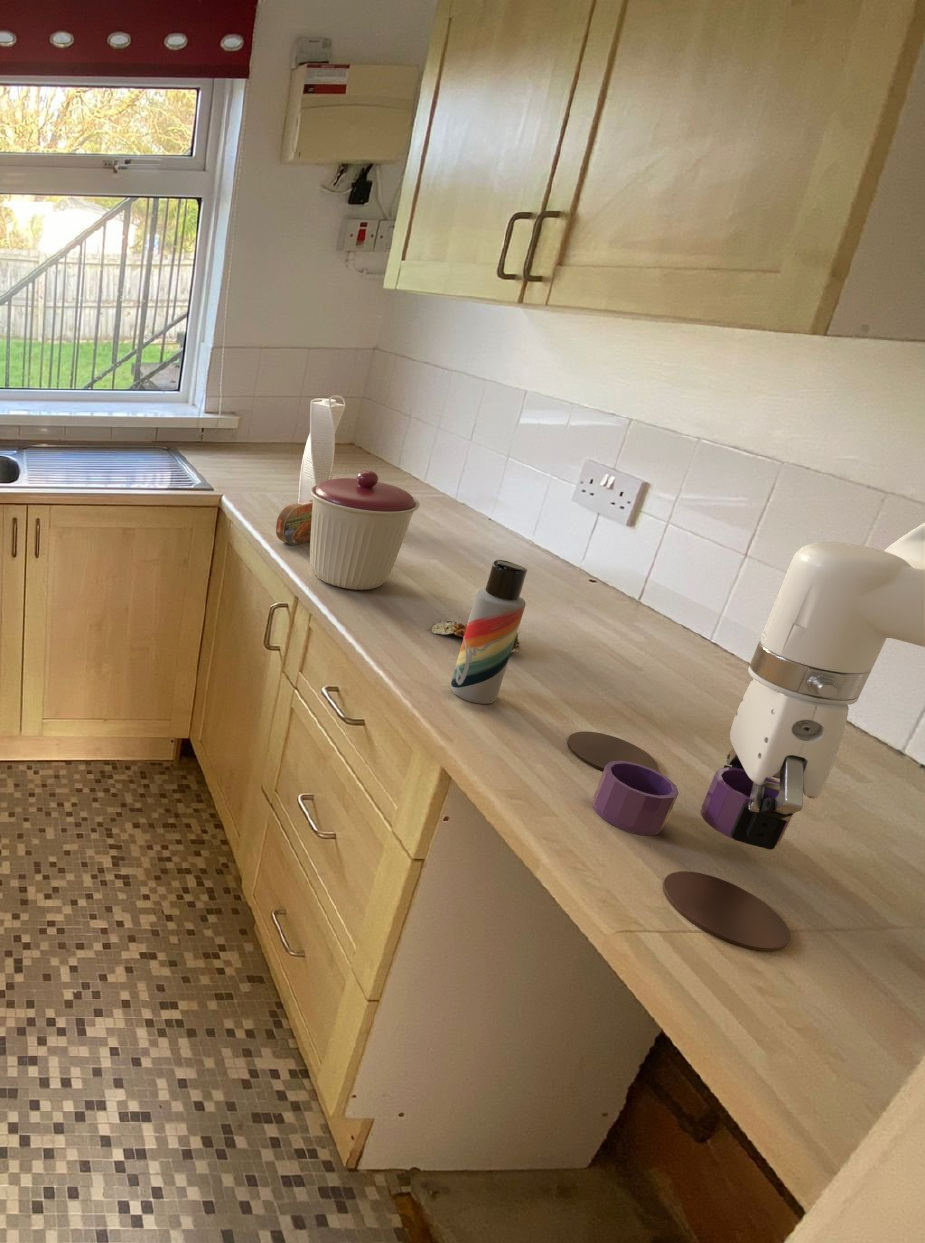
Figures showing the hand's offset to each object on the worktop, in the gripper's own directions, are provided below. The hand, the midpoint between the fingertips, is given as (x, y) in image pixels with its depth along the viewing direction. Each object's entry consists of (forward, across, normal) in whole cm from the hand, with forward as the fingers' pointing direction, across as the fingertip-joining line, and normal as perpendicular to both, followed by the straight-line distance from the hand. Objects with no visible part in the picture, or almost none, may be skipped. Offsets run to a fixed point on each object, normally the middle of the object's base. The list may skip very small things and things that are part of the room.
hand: (741, 820), depth 79 cm
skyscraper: (+2, +90, +58) cm, 107 cm away
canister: (+2, +53, +45) cm, 69 cm away
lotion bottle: (+3, +20, +24) cm, 31 cm away
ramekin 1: (+3, 0, +9) cm, 9 cm away
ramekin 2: (+1, 0, 0) cm, 1 cm away
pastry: (+3, +38, +24) cm, 45 cm away
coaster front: (+3, -12, +3) cm, 12 cm away
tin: (+2, +70, +56) cm, 89 cm away
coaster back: (+3, +12, +9) cm, 16 cm away
